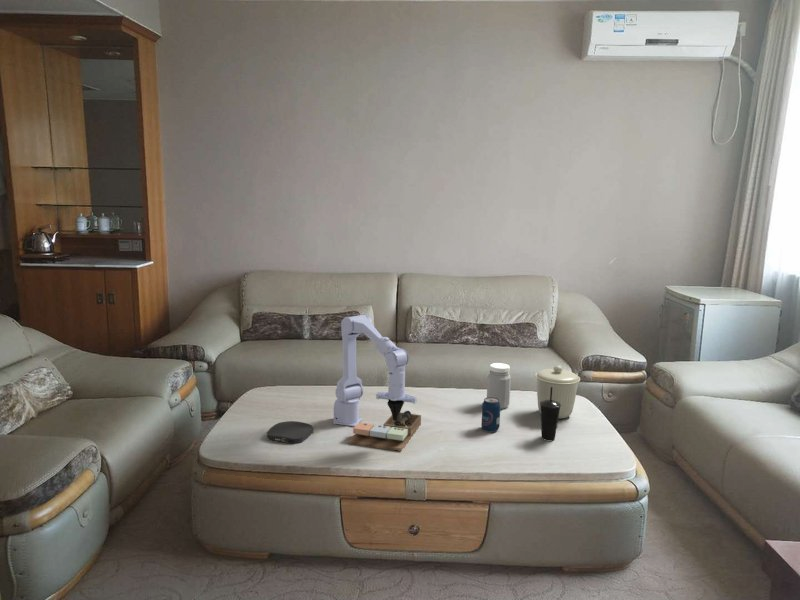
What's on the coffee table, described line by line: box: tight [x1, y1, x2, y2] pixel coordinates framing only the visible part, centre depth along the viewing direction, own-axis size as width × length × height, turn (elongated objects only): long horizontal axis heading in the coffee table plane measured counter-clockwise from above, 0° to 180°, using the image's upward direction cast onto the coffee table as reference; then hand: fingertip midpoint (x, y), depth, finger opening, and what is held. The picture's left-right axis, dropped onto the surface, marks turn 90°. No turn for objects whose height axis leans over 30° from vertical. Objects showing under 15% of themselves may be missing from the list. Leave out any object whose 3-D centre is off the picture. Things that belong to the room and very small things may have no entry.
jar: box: [486, 362, 512, 410], centre depth 256 cm, size 10×10×18 cm
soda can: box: [480, 397, 501, 433], centre depth 231 cm, size 7×7×12 cm
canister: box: [534, 365, 581, 420], centre depth 247 cm, size 18×18×21 cm
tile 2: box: [370, 424, 391, 438], centre depth 219 cm, size 6×6×2 cm
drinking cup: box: [540, 387, 561, 441], centre depth 223 cm, size 8×8×20 cm
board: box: [348, 411, 422, 452], centre depth 226 cm, size 20×26×4 cm
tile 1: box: [352, 421, 375, 436], centre depth 221 cm, size 6×6×2 cm
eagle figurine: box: [392, 410, 412, 427], centre depth 231 cm, size 8×7×9 cm
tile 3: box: [387, 427, 408, 441], centre depth 217 cm, size 6×6×2 cm
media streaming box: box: [266, 420, 314, 445], centre depth 224 cm, size 15×15×3 cm
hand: (395, 419), depth 214 cm, fingers closed
